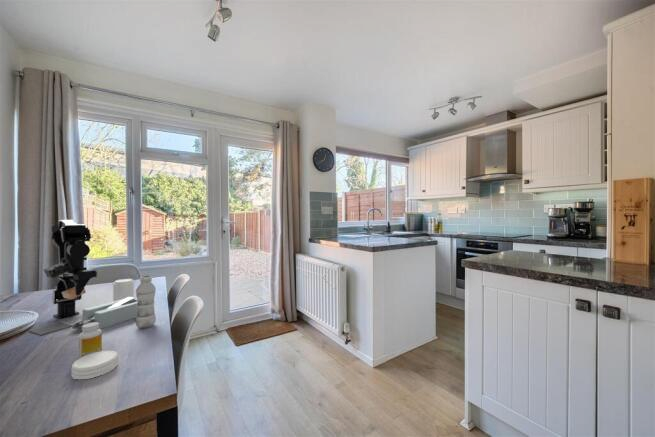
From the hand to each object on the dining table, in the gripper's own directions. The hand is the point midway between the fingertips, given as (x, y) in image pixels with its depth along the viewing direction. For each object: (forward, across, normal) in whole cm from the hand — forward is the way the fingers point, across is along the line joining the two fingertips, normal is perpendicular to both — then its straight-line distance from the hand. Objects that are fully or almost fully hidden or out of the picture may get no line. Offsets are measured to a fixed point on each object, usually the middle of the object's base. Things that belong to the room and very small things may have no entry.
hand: (74, 294), depth 106 cm
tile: (0, 0, 0) cm, 0 cm away
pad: (+12, -3, -6) cm, 14 cm away
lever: (+9, +8, +7) cm, 14 cm away
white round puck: (+12, +44, -16) cm, 49 cm away
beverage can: (+13, -8, +24) cm, 28 cm away
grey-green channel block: (+12, +8, +10) cm, 18 cm away
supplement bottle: (+12, +34, -12) cm, 38 cm away
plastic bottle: (+12, +28, +9) cm, 32 cm away
